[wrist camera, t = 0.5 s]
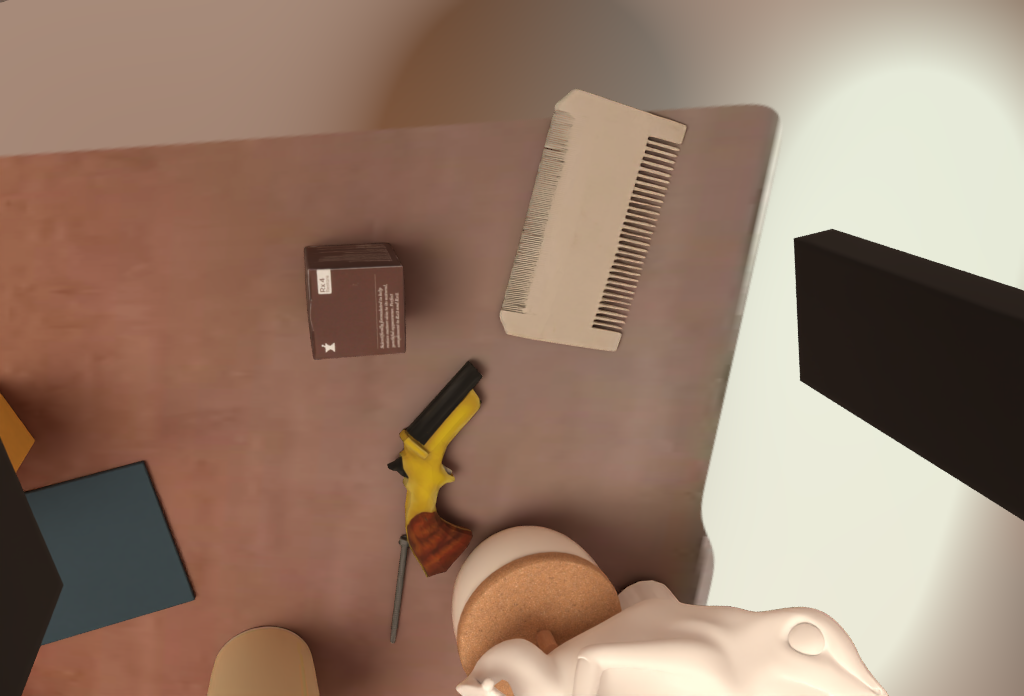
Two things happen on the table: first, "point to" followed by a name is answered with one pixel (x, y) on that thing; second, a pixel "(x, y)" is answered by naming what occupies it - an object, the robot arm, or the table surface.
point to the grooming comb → (584, 221)
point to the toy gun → (435, 472)
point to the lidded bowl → (527, 593)
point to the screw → (399, 586)
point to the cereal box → (14, 434)
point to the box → (355, 300)
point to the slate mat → (108, 550)
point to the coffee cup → (264, 665)
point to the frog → (685, 656)
